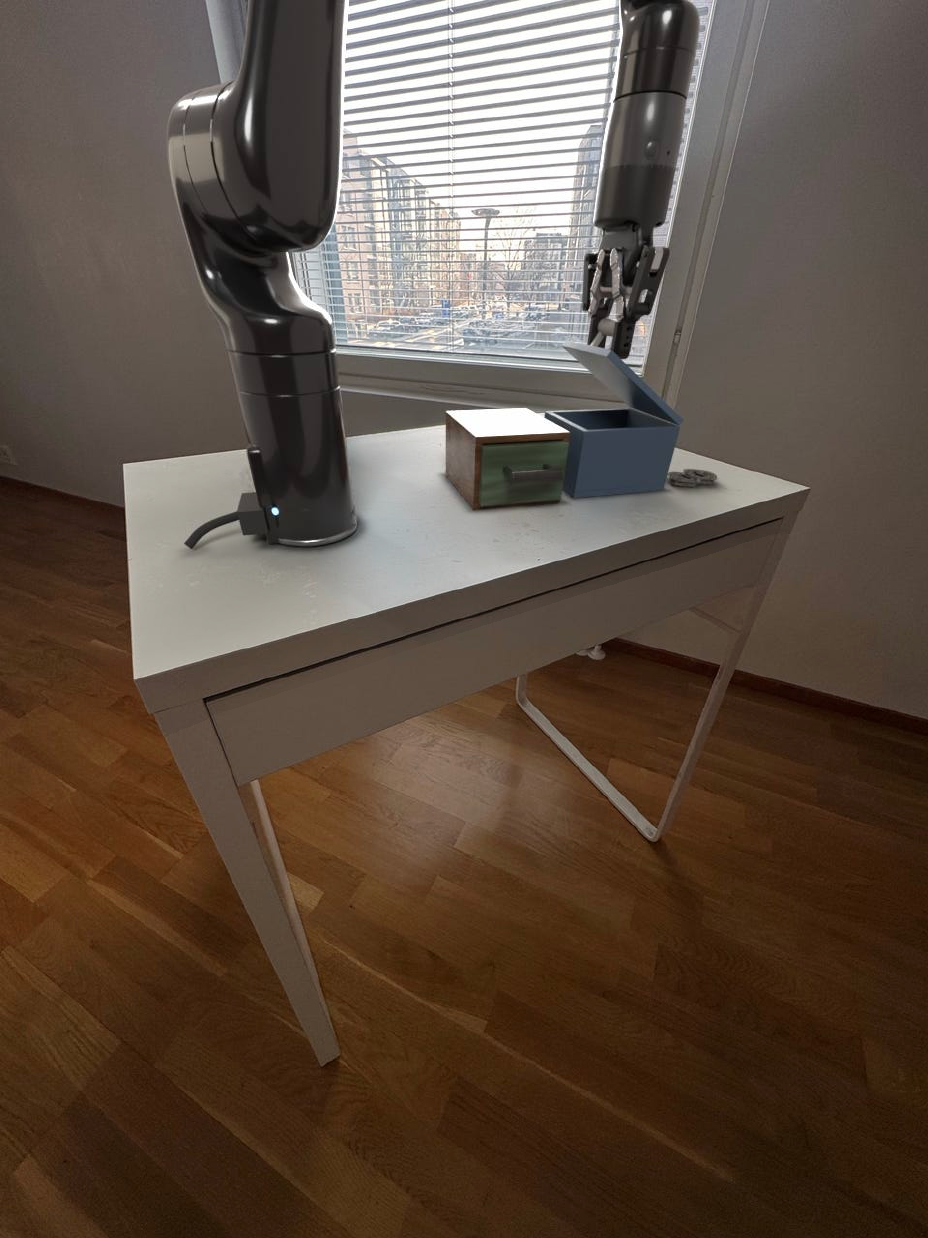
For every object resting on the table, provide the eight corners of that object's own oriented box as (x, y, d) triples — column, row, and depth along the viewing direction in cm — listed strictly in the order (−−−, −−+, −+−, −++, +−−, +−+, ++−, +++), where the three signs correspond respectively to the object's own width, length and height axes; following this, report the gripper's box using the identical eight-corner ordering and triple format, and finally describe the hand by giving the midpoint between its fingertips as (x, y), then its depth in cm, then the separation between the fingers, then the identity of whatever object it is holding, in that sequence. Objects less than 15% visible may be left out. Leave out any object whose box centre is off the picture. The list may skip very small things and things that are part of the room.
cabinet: (560, 502, 60) (570, 431, 55) (473, 510, 57) (475, 436, 52) (520, 469, 71) (526, 407, 66) (445, 474, 68) (445, 410, 63)
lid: (606, 356, 53) (636, 311, 51) (561, 345, 62) (585, 307, 60) (679, 425, 60) (708, 388, 58) (629, 406, 69) (652, 374, 67)
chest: (573, 498, 62) (584, 431, 57) (538, 470, 71) (544, 411, 66) (663, 490, 65) (680, 426, 60) (618, 464, 74) (630, 407, 69)
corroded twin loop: (656, 480, 68) (658, 473, 67) (695, 473, 71) (697, 466, 70) (684, 491, 64) (686, 484, 64) (724, 483, 67) (726, 476, 67)
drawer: (575, 511, 56) (585, 452, 52) (491, 519, 53) (495, 458, 49) (523, 468, 68) (527, 418, 64) (453, 473, 66) (454, 421, 62)
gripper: (716, 155, 44) (668, 363, 54) (630, 181, 55) (603, 348, 65) (646, 148, 42) (609, 364, 52) (572, 176, 53) (553, 349, 63)
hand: (606, 355), depth 58 cm, fingers closed on lid, 5 cm apart
